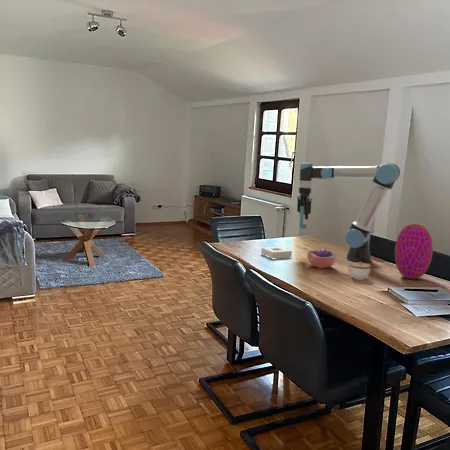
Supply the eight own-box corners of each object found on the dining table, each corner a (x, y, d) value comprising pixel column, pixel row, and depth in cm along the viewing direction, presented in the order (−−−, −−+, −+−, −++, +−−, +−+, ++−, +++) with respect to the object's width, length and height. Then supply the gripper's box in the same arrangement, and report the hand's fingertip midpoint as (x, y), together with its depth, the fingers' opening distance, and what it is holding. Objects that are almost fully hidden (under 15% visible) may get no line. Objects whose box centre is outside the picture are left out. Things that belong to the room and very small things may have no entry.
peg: (307, 228, 301) (308, 206, 299) (301, 228, 299) (303, 206, 297) (303, 227, 305) (305, 205, 302) (298, 227, 303) (299, 205, 301)
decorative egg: (431, 277, 264) (437, 224, 260) (426, 285, 248) (432, 229, 243) (396, 271, 274) (401, 220, 269) (389, 278, 257) (394, 224, 252)
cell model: (333, 263, 287) (334, 245, 285) (337, 272, 268) (339, 252, 266) (305, 262, 289) (306, 244, 287) (307, 270, 269) (309, 251, 267)
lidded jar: (358, 281, 249) (360, 264, 248) (345, 276, 259) (346, 260, 257) (373, 280, 254) (375, 263, 253) (359, 274, 264) (361, 258, 262)
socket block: (291, 257, 299) (291, 251, 298) (272, 259, 293) (272, 252, 292) (280, 253, 311) (280, 246, 311) (261, 254, 306) (261, 247, 305)
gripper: (292, 186, 304) (290, 221, 308) (307, 188, 288) (305, 226, 292) (302, 186, 307) (300, 221, 311) (318, 188, 291) (315, 225, 295)
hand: (303, 223), depth 301 cm, fingers closed on peg, 4 cm apart
